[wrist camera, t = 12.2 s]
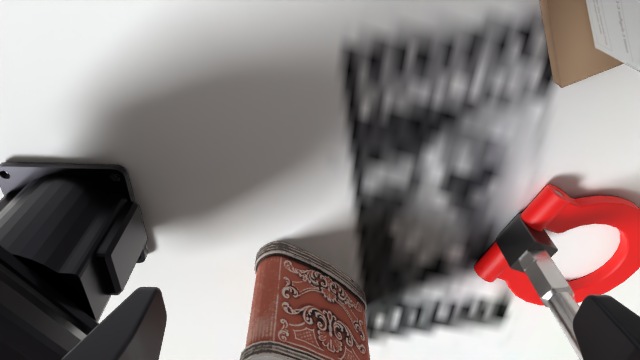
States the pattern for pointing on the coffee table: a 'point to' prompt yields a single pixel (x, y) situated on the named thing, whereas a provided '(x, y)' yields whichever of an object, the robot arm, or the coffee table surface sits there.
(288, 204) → the coffee table surface
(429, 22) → the coffee table surface
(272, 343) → the red-brown boxy piece
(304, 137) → the coffee table surface
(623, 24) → the supplement box
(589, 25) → the walnut plate
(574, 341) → the tow hook
